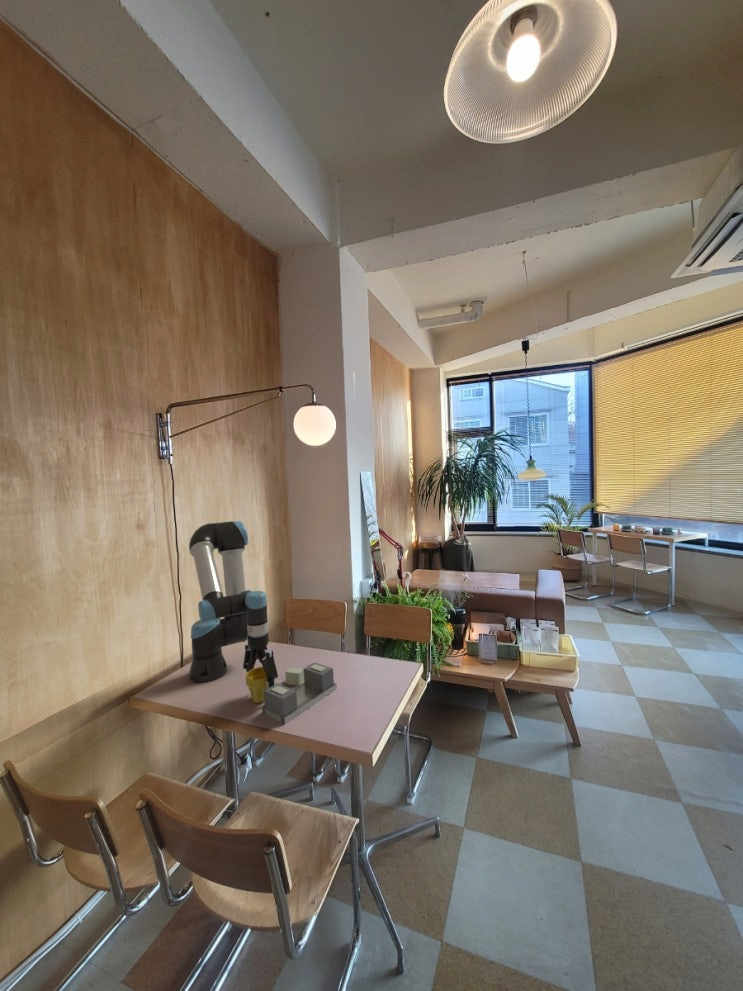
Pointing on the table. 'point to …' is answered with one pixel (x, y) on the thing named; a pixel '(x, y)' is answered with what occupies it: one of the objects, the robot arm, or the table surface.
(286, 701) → the module near
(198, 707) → the table surface
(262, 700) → the plant pot
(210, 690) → the table surface
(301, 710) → the rail
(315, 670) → the block
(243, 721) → the table surface
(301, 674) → the block
